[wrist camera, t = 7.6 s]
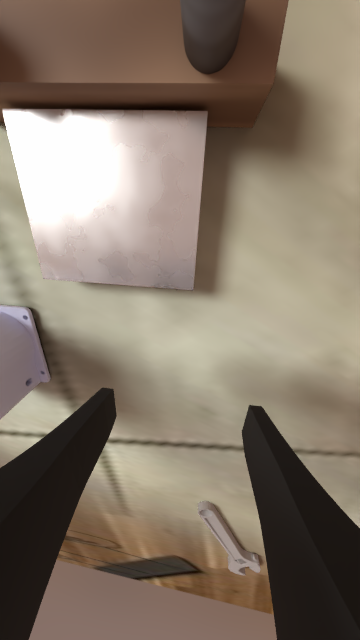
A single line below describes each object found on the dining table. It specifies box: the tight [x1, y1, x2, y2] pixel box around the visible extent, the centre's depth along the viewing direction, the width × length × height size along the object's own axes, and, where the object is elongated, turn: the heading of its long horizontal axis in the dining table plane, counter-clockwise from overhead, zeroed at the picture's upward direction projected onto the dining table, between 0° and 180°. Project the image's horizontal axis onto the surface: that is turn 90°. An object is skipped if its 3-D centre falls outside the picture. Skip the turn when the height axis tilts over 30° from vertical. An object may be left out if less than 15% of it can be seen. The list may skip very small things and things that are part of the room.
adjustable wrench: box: [198, 501, 260, 575], centre depth 35 cm, size 25×6×2 cm, turn 20°
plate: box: [2, 109, 208, 290], centre depth 14 cm, size 10×12×3 cm
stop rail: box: [0, 0, 288, 128], centre depth 9 cm, size 3×18×7 cm, turn 87°
